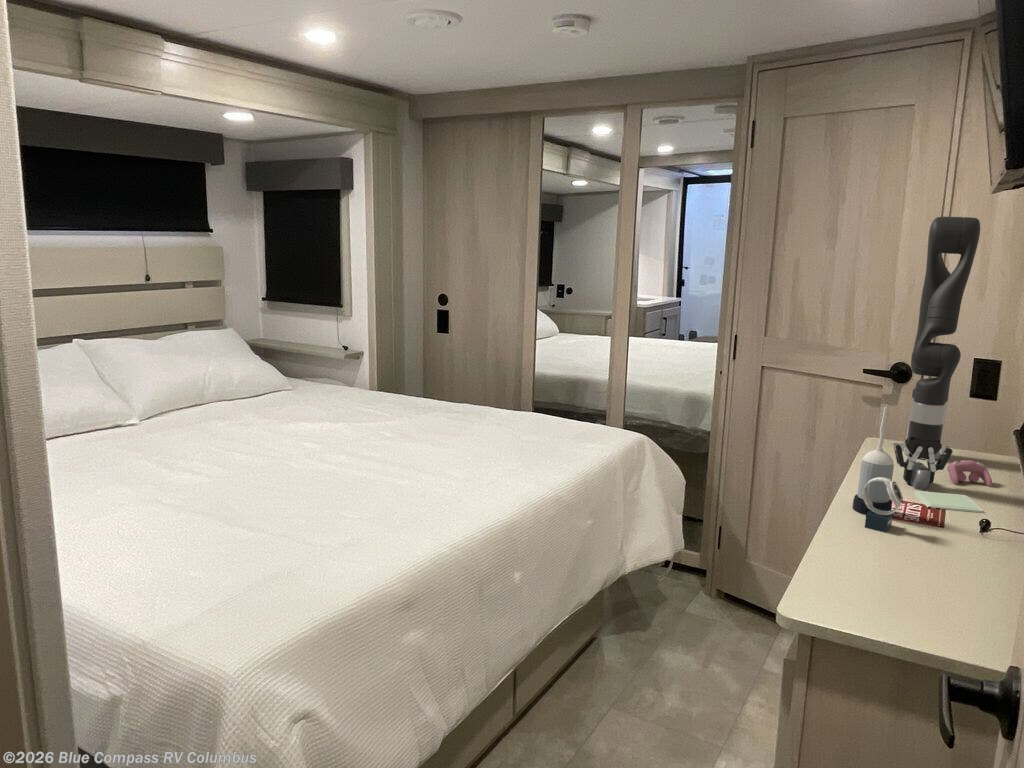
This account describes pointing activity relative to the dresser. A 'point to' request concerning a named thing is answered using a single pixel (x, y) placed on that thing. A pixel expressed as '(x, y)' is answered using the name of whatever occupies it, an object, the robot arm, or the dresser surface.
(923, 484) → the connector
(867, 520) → the watch
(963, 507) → the mat
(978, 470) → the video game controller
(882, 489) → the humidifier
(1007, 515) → the dresser surface
